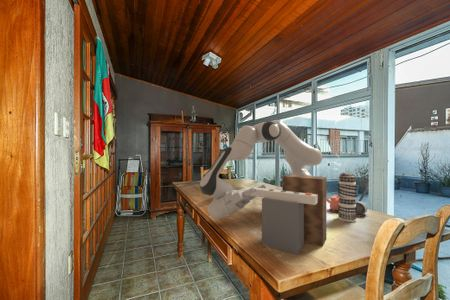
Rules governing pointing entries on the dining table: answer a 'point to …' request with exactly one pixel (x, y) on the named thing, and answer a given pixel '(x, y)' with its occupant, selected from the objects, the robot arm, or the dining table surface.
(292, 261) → the dining table surface
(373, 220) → the dining table surface
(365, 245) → the dining table surface
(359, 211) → the ceramic mug
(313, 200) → the power strip
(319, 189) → the walnut post
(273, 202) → the dark grey block
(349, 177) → the decorative candle
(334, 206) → the teapot
